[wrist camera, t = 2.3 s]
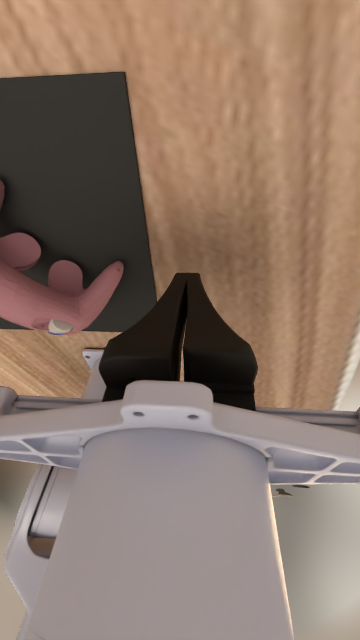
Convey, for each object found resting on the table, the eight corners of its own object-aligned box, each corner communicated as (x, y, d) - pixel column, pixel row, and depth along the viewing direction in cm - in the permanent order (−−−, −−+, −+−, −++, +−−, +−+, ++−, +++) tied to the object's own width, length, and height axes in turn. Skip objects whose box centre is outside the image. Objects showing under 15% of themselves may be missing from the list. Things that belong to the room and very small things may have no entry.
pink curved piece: (-8, 204, 18) (-79, 283, 15) (-15, 161, 14) (-113, 257, 11) (114, 280, 22) (74, 353, 19) (134, 264, 18) (87, 351, 15)
